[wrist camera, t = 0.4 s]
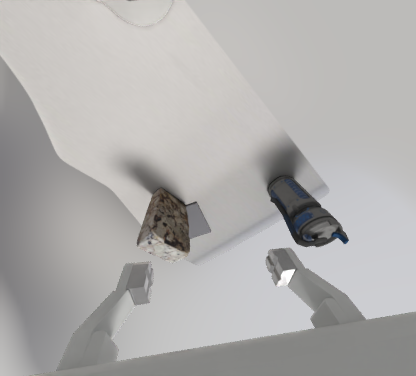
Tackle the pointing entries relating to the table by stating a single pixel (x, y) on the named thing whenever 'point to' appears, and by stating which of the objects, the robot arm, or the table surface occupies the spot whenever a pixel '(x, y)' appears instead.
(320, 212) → the grey blue tall cylinder
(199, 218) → the mat
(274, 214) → the table surface
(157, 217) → the stone block
